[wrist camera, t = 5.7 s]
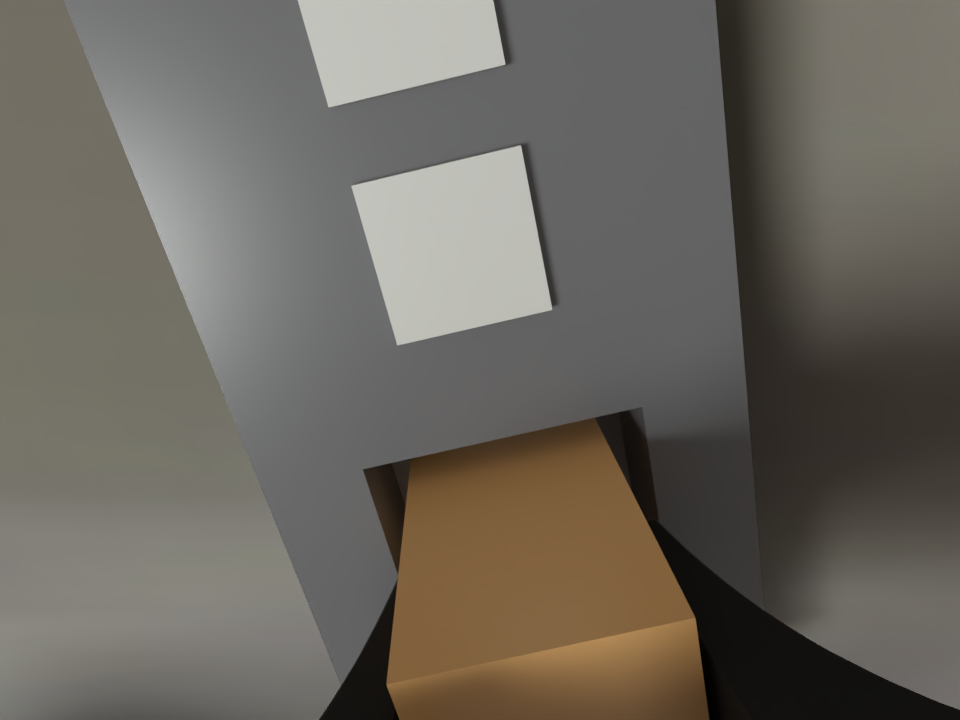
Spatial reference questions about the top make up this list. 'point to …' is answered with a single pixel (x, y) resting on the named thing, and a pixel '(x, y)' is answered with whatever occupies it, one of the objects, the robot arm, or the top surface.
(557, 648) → the plug block
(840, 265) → the top surface
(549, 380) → the power strip
